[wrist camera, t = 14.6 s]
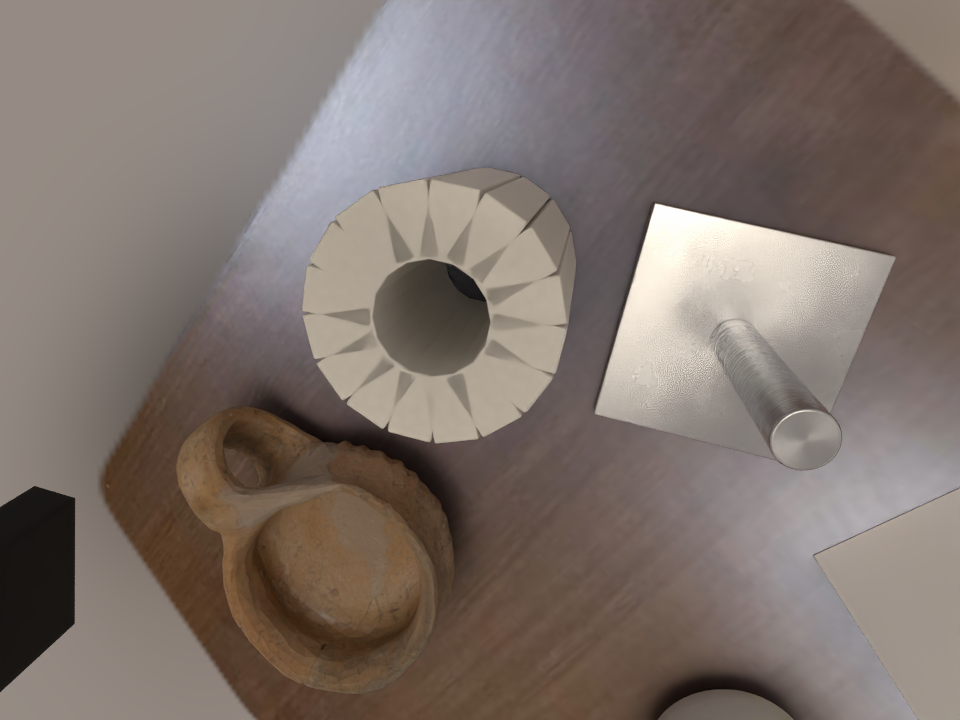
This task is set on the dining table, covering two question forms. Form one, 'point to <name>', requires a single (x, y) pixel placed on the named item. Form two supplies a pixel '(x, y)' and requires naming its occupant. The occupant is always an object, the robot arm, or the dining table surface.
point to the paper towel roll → (442, 303)
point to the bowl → (321, 549)
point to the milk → (908, 600)
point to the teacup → (724, 707)
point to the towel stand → (740, 335)
